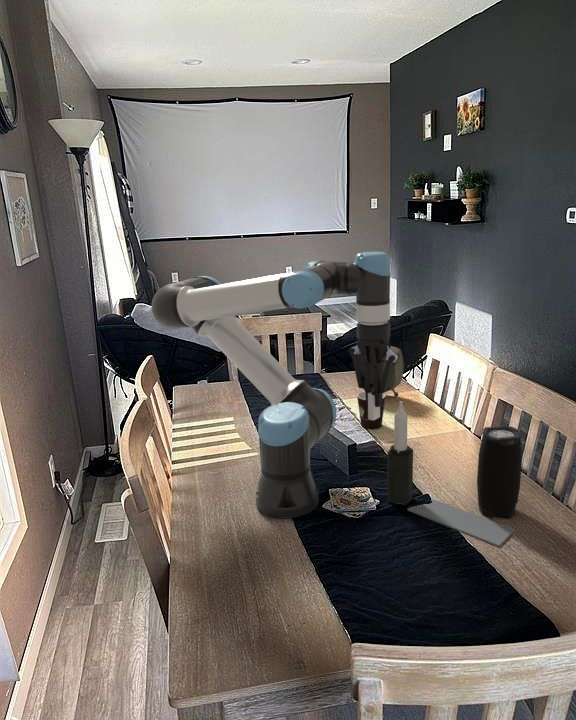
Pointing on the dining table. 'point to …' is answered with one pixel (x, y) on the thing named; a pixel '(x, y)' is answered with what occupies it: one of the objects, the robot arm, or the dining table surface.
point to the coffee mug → (364, 412)
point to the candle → (400, 461)
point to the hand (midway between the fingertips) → (374, 418)
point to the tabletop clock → (396, 370)
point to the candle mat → (464, 522)
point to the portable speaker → (499, 471)
